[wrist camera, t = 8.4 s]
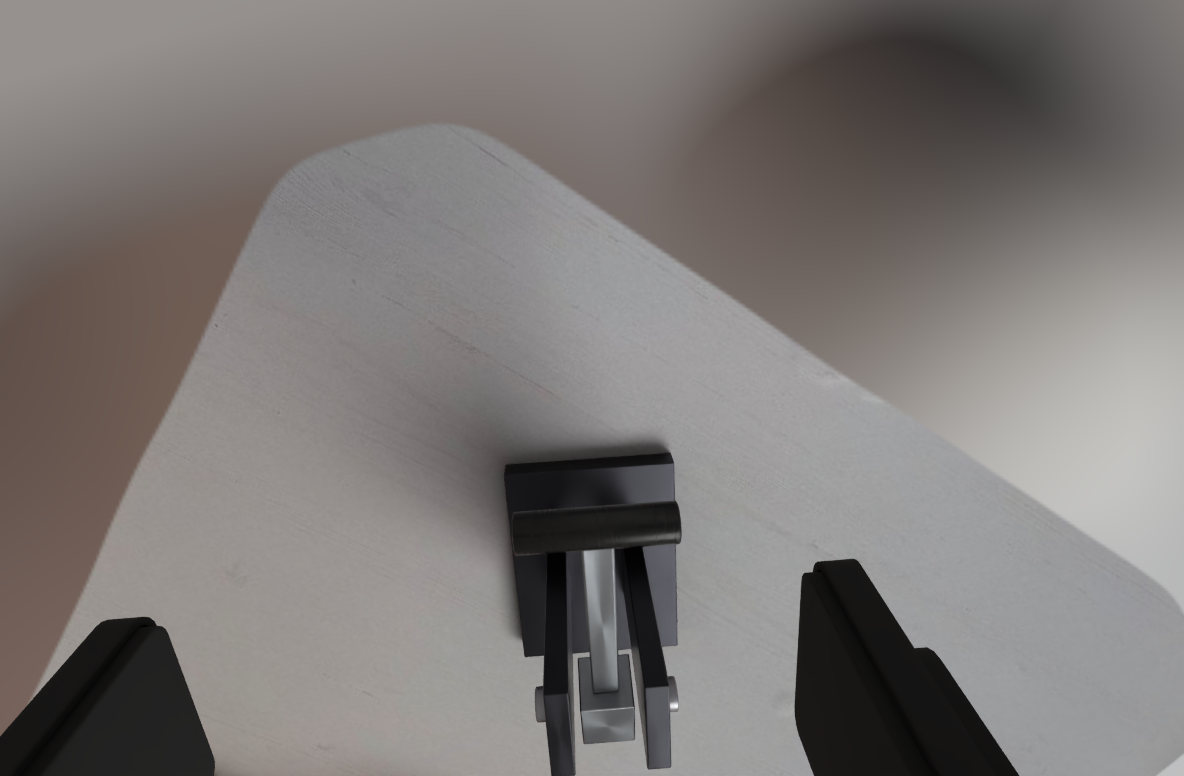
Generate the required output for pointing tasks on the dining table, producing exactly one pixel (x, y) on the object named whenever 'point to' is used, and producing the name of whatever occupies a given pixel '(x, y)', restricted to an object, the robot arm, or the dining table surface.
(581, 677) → the lever
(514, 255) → the dining table surface
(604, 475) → the bracket
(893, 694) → the robot arm
